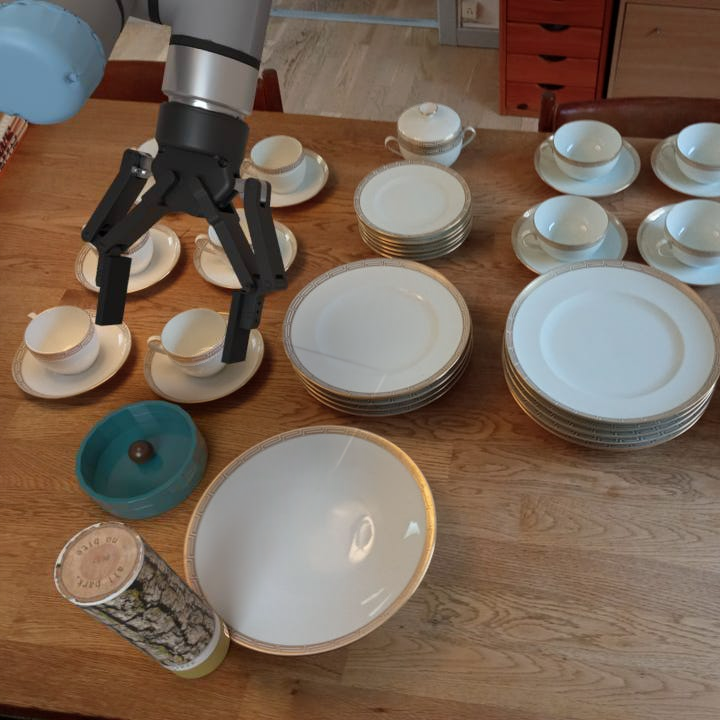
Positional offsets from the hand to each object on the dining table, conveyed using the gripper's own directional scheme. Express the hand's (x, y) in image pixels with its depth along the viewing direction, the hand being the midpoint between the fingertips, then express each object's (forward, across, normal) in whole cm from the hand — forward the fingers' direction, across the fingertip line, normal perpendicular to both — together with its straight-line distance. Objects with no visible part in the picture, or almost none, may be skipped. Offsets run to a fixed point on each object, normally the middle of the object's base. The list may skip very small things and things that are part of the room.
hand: (169, 343), depth 68 cm
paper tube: (+33, -5, -7) cm, 34 cm away
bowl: (+21, +13, -18) cm, 31 cm away
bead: (+19, +14, -17) cm, 29 cm away
